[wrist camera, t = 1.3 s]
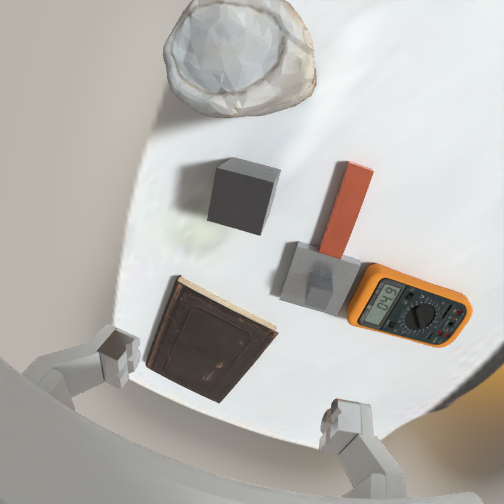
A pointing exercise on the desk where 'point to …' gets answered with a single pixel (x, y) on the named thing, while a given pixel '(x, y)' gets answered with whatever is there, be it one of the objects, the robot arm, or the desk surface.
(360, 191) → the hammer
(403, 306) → the multimeter
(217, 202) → the brushed metal cube
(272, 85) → the spray can
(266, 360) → the desk surface
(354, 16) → the desk surface
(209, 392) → the hardcover book
